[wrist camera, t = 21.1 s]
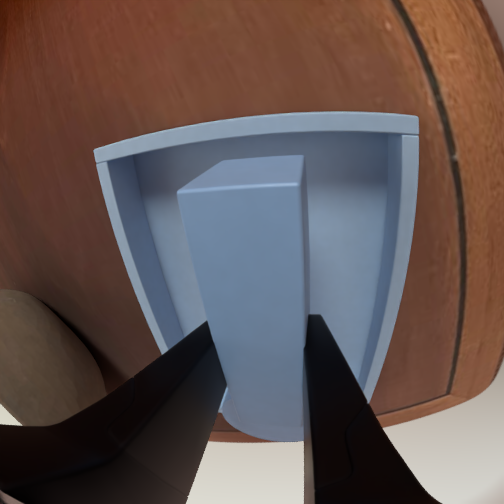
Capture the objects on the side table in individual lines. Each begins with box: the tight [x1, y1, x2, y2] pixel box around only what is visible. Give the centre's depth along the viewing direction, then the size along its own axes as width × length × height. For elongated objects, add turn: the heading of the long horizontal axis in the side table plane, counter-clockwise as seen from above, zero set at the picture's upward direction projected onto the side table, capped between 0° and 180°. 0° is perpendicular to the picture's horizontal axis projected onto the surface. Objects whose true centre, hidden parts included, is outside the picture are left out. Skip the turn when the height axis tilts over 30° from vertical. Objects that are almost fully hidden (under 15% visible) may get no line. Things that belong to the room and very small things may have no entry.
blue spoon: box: [177, 155, 310, 442], centre depth 9 cm, size 12×5×3 cm, turn 7°
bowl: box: [0, 289, 106, 426], centre depth 17 cm, size 17×18×10 cm
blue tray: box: [94, 111, 419, 413], centre depth 12 cm, size 16×11×2 cm
